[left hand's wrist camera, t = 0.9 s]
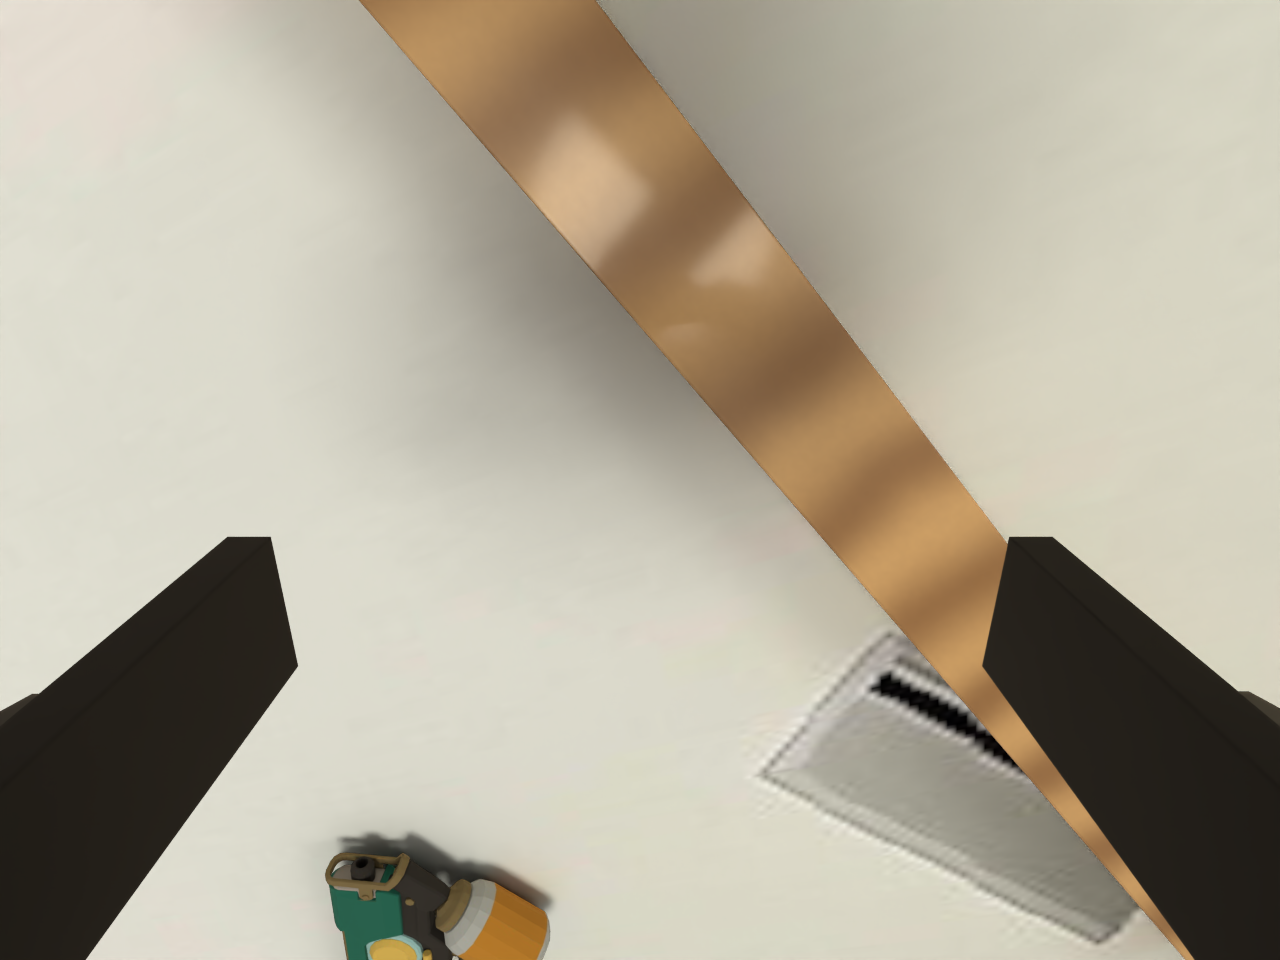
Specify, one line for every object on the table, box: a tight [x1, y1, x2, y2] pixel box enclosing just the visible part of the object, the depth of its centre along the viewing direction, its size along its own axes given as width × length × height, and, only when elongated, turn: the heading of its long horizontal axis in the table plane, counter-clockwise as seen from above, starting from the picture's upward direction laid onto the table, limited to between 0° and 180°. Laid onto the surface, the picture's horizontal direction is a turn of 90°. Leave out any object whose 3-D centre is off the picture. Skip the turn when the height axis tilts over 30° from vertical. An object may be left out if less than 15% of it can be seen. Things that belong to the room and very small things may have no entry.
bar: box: [359, 0, 1194, 960], centre depth 32 cm, size 76×5×7 cm, turn 41°
